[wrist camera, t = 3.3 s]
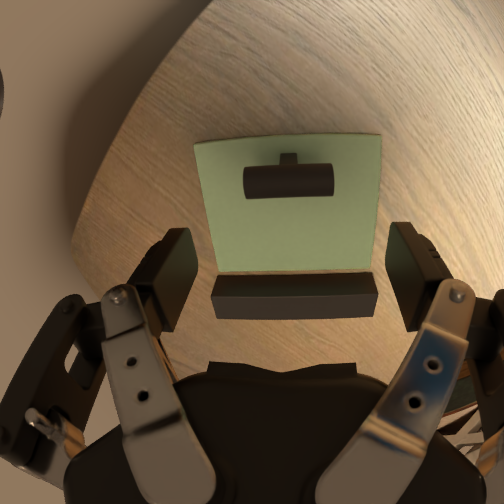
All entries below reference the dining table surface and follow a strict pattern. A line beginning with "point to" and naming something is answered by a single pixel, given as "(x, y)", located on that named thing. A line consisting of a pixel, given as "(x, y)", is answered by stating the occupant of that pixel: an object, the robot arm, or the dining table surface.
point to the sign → (291, 200)
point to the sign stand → (295, 296)
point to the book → (463, 391)
